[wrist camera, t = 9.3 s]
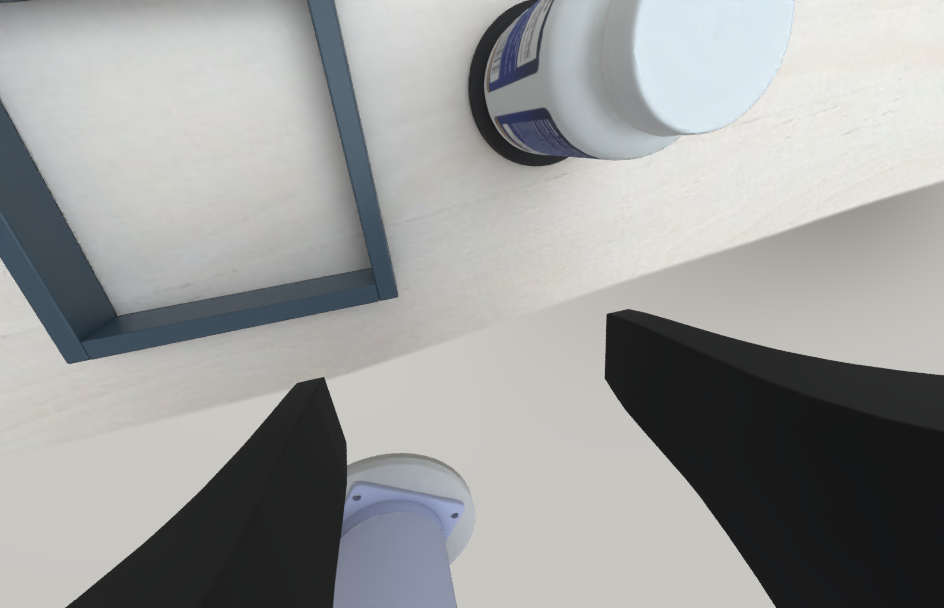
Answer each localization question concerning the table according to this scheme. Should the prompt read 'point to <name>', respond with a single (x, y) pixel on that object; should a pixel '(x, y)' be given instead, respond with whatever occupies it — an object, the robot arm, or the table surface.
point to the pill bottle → (631, 72)
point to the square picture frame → (104, 334)
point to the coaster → (478, 93)
